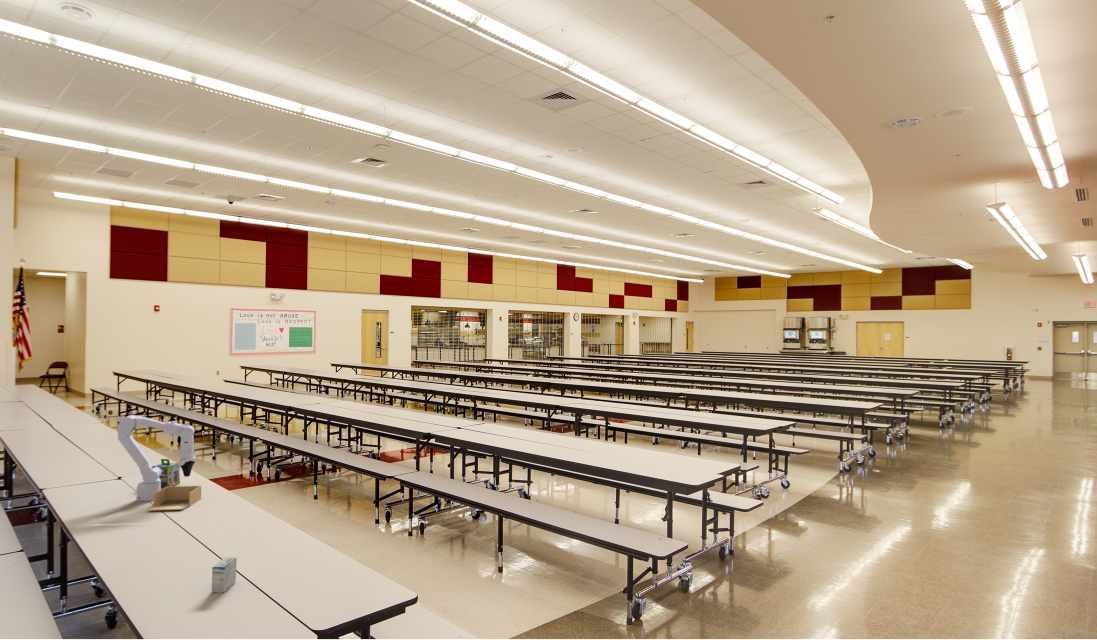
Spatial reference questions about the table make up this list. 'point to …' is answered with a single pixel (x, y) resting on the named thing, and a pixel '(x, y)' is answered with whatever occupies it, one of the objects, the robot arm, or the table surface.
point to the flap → (168, 508)
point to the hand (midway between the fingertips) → (187, 476)
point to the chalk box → (169, 473)
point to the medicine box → (224, 574)
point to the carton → (177, 495)
